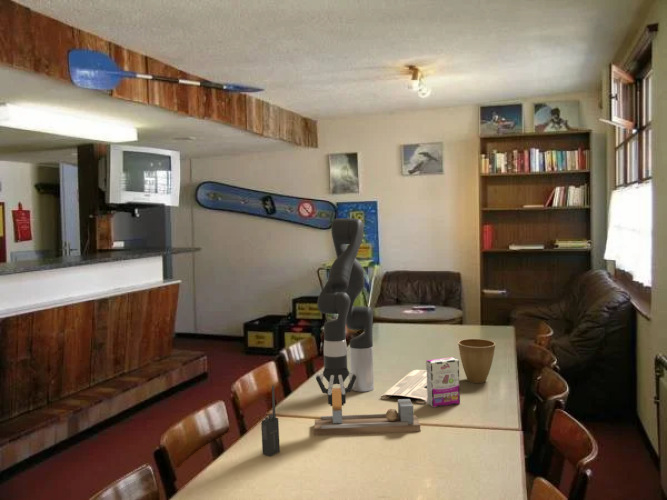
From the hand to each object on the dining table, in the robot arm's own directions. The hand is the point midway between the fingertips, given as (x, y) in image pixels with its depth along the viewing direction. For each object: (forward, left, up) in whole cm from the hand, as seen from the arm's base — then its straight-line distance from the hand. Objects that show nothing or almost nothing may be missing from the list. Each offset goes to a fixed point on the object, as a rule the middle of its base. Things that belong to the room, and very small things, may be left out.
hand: (336, 404), depth 188 cm
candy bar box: (-21, +40, -8) cm, 46 cm away
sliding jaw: (0, 0, -6) cm, 6 cm away
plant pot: (-48, +60, -8) cm, 77 cm away
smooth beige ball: (0, +18, -4) cm, 18 cm away
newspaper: (-42, +33, -9) cm, 54 cm away
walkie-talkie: (+17, -20, -8) cm, 28 cm away
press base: (0, +10, -8) cm, 13 cm away
